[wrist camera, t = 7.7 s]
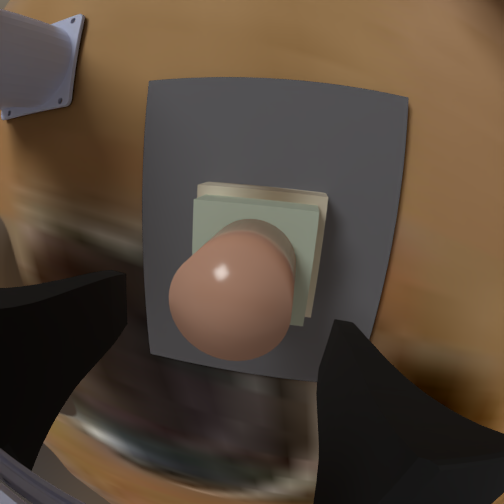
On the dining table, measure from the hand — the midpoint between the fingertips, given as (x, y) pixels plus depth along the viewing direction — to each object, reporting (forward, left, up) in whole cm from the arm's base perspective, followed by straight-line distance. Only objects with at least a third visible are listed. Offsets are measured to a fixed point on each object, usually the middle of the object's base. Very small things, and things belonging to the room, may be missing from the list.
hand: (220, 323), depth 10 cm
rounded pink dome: (0, 0, -6) cm, 6 cm away
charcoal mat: (0, 0, -10) cm, 10 cm away
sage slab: (0, 0, -8) cm, 8 cm away
